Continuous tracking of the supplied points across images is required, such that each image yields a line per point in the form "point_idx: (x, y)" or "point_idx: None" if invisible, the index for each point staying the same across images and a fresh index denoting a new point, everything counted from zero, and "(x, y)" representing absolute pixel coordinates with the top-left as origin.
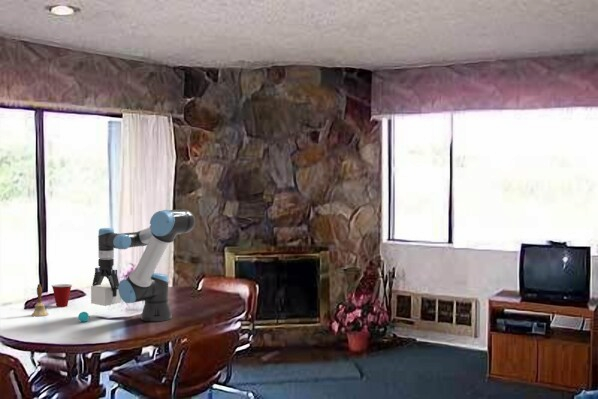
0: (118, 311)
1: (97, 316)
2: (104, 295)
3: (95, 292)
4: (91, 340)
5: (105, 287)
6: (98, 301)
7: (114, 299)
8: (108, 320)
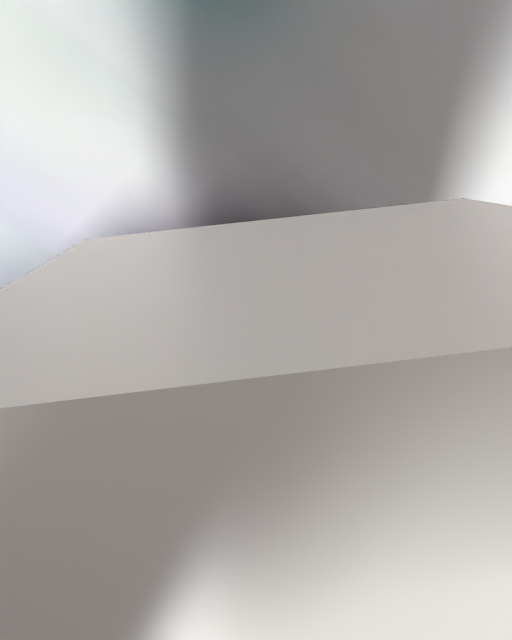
0: None
1: None
2: (5, 294)
3: (455, 256)
4: None
5: (66, 599)
6: (270, 228)
7: None
8: (64, 211)
